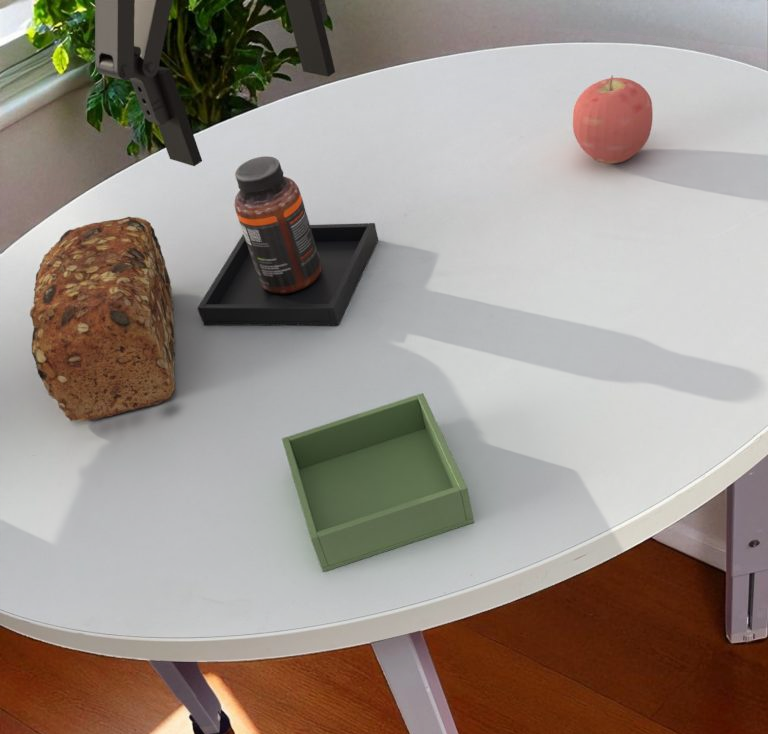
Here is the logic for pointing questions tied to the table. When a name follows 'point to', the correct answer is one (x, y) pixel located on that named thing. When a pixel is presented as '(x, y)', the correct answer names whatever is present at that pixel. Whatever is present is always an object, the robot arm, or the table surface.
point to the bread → (104, 320)
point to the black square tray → (304, 307)
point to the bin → (376, 482)
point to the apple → (613, 119)
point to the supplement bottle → (275, 227)
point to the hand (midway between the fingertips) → (255, 114)
